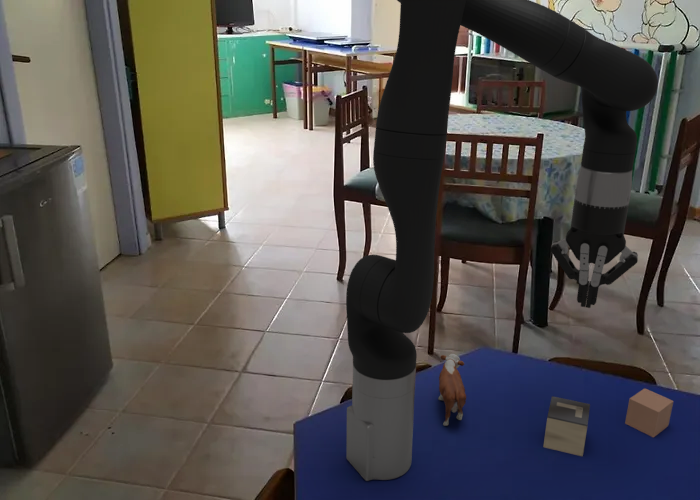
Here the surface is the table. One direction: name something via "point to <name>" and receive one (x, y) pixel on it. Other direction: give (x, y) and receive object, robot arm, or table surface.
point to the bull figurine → (452, 387)
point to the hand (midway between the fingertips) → (585, 305)
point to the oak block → (566, 426)
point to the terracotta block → (649, 412)
